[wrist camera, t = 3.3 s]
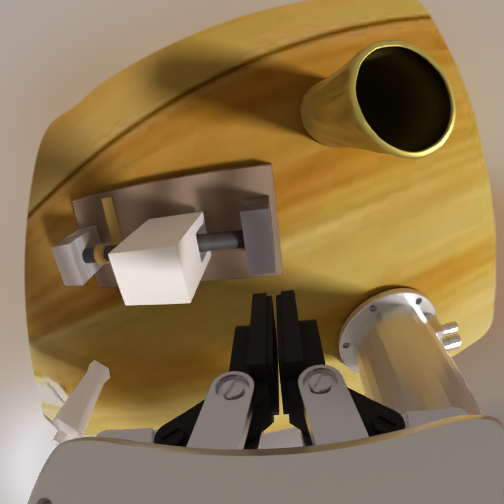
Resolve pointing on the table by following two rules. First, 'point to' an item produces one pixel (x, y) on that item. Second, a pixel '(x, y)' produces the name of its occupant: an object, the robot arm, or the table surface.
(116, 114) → the table surface
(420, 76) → the vase
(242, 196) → the linear slide rail
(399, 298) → the robot arm
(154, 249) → the notched white rod block
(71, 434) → the perfume bottle
